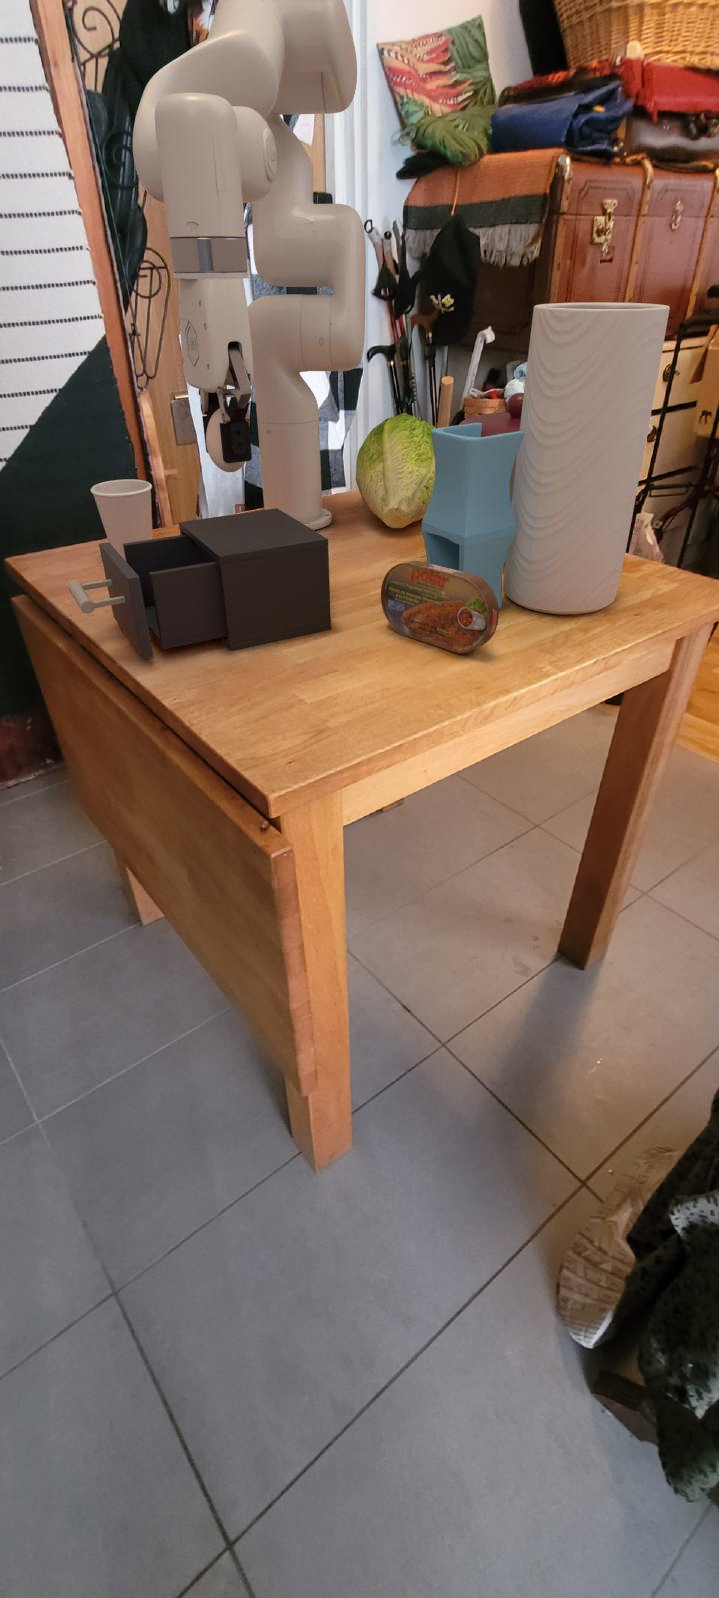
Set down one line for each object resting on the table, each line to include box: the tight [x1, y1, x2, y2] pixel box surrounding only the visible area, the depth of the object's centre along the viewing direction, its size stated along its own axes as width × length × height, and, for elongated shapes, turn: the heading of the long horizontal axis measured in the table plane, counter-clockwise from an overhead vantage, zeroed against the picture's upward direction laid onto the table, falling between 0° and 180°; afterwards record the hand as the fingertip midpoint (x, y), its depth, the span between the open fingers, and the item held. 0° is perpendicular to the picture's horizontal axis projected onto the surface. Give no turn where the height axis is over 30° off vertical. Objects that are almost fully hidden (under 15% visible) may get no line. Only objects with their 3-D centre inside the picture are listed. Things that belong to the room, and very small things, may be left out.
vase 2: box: [503, 301, 671, 616], centre depth 89 cm, size 14×14×32 cm
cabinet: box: [178, 508, 332, 651], centre depth 90 cm, size 13×15×11 cm
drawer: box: [67, 534, 227, 660], centre depth 86 cm, size 16×13×9 cm
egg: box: [206, 409, 247, 473], centre depth 86 cm, size 5×5×7 cm
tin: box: [380, 560, 500, 654], centre depth 85 cm, size 15×3×8 cm, turn 47°
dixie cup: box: [90, 478, 154, 561], centre depth 110 cm, size 8×8×10 cm
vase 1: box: [421, 422, 525, 609], centre depth 91 cm, size 8×8×20 cm
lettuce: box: [355, 412, 437, 529], centre depth 126 cm, size 15×24×16 cm
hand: (228, 455), depth 87 cm, fingers closed on egg, 4 cm apart
